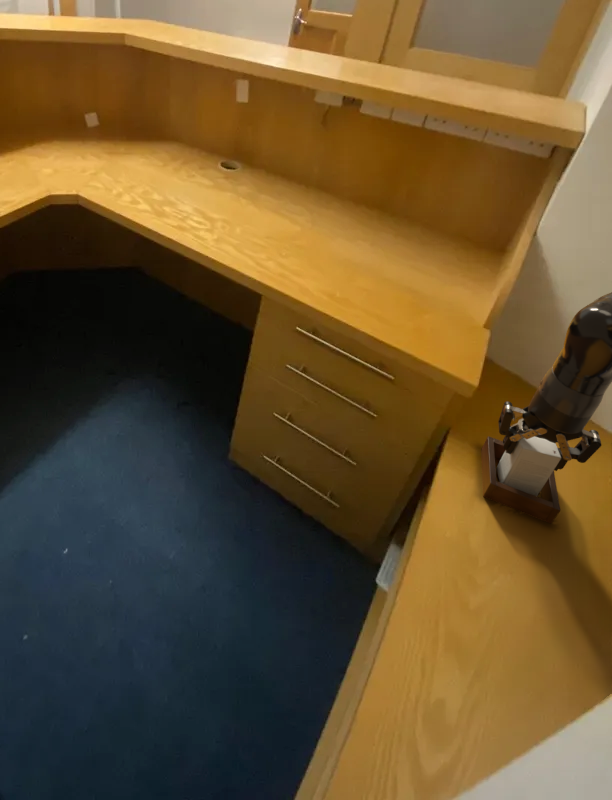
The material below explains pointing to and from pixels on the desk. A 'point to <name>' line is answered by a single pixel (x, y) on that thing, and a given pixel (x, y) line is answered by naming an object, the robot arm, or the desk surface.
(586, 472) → the desk surface
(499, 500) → the box
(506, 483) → the cosmetic box
